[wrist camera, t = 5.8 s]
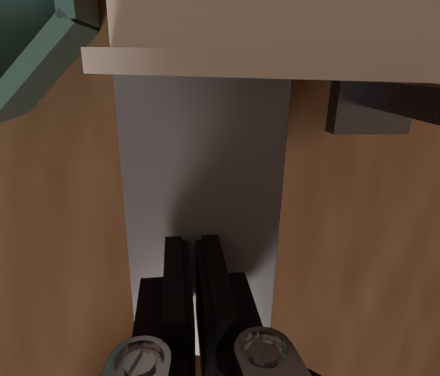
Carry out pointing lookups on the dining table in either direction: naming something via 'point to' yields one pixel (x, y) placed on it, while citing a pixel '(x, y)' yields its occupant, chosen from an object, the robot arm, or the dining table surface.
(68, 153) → the dining table surface
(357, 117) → the stand
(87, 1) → the green octagonal bowl
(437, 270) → the dining table surface
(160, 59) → the tipping tray
